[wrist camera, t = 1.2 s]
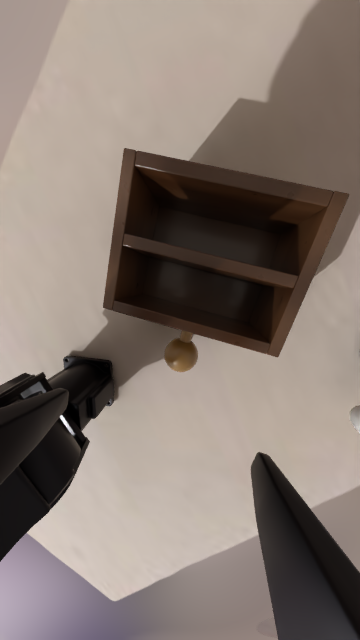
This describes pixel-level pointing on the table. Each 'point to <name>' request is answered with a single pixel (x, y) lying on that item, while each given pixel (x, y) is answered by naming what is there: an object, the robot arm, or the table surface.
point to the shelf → (215, 252)
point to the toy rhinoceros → (355, 417)
